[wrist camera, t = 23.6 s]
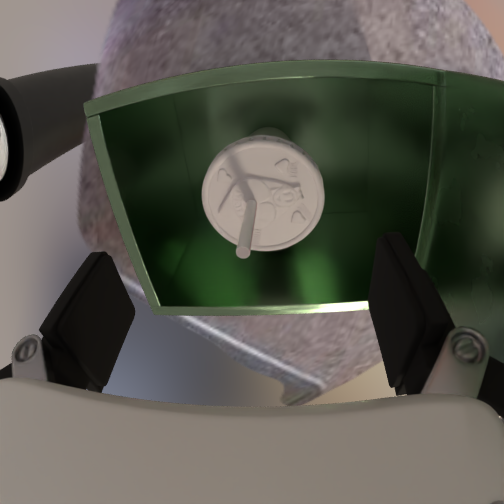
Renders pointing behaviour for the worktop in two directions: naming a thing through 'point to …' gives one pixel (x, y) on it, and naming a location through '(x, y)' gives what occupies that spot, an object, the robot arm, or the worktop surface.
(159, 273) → the caddy
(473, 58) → the worktop surface
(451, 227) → the lid
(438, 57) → the worktop surface
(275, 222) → the smoothie
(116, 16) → the worktop surface
